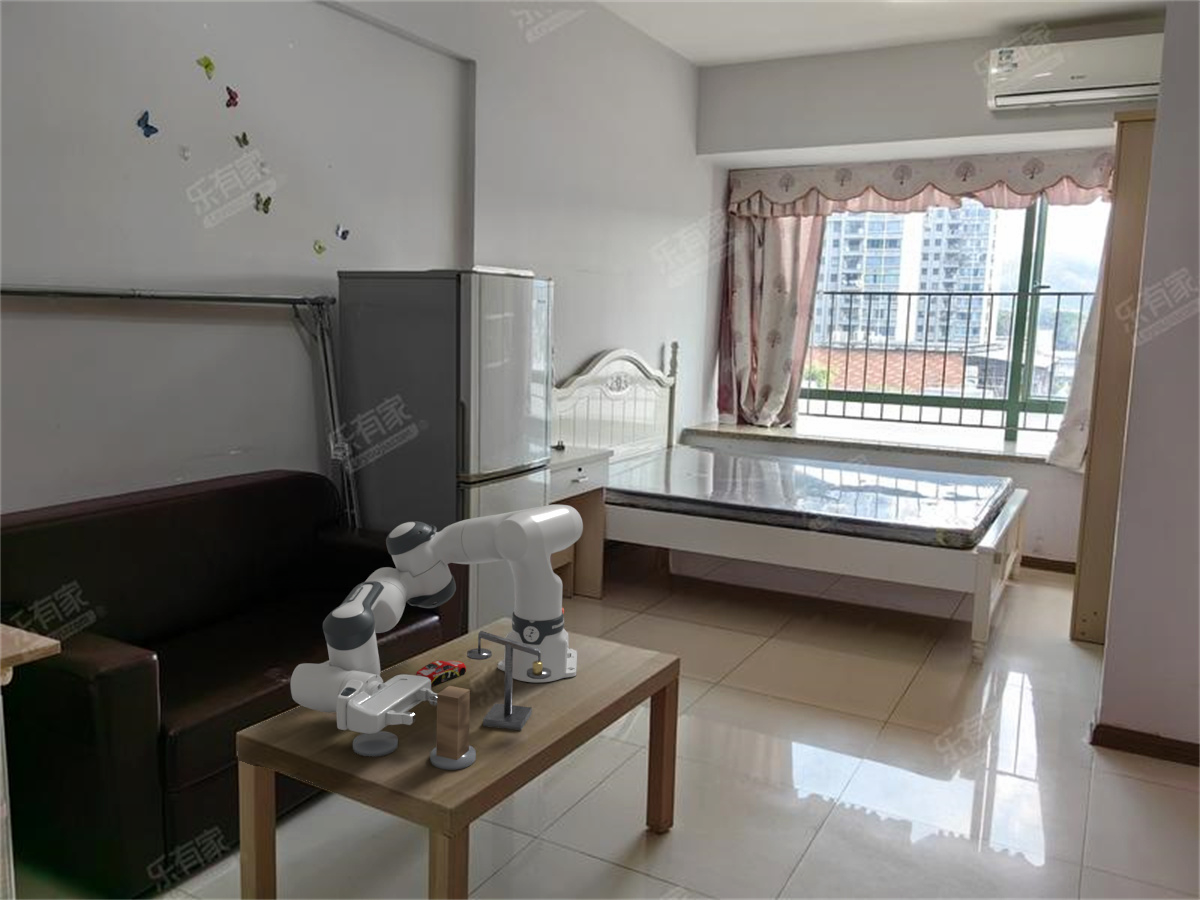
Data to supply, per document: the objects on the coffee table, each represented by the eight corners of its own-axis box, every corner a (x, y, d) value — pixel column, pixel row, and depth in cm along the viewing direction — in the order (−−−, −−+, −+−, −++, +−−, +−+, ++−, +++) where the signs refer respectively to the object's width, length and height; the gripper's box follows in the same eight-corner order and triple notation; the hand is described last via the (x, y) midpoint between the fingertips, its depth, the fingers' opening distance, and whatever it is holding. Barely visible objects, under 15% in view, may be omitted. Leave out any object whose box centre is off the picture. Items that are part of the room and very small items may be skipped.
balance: (472, 707, 199) (474, 624, 196) (554, 716, 196) (556, 632, 193) (460, 723, 191) (461, 636, 188) (544, 733, 188) (547, 645, 185)
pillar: (448, 745, 178) (449, 685, 177) (468, 750, 177) (469, 689, 175) (436, 755, 174) (437, 694, 173) (457, 760, 173) (458, 698, 171)
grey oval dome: (364, 734, 184) (364, 728, 184) (404, 739, 183) (404, 733, 183) (345, 753, 176) (345, 747, 176) (387, 759, 175) (387, 753, 175)
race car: (455, 667, 221) (455, 651, 221) (470, 674, 218) (471, 657, 217) (411, 683, 211) (411, 666, 211) (426, 689, 208) (427, 672, 207)
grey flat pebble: (439, 746, 181) (439, 740, 180) (481, 751, 179) (481, 745, 179) (423, 766, 172) (423, 760, 172) (467, 772, 171) (467, 766, 171)
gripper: (394, 692, 191) (454, 704, 186) (332, 732, 172) (397, 747, 167) (394, 662, 190) (454, 674, 185) (332, 700, 171) (397, 714, 166)
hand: (426, 709), depth 176 cm, fingers open, 8 cm apart
